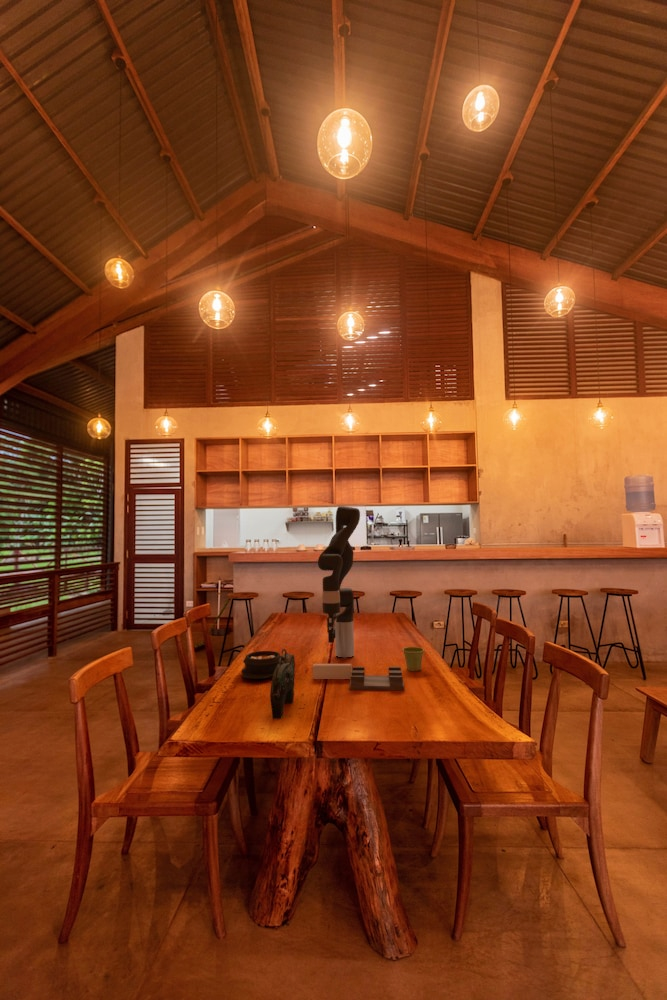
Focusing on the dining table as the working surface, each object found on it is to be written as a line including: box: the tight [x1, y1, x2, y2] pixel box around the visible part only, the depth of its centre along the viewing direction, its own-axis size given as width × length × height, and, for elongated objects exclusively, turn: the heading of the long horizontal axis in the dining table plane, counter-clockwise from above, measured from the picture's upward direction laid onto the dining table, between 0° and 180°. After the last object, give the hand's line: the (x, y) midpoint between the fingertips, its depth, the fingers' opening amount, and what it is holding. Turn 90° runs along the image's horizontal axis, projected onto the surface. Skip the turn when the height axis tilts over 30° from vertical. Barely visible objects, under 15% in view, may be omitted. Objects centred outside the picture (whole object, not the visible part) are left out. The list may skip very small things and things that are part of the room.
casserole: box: [240, 650, 281, 680], centre depth 207 cm, size 25×19×8 cm
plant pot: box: [402, 646, 425, 672], centre depth 210 cm, size 9×9×9 cm
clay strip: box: [312, 663, 352, 680], centre depth 199 cm, size 2×16×6 cm, turn 85°
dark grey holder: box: [349, 666, 405, 691], centre depth 190 cm, size 14×21×5 cm, turn 85°
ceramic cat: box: [269, 648, 296, 720], centre depth 166 cm, size 20×6×20 cm, turn 171°
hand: (332, 640), depth 199 cm, fingers open, 8 cm apart
